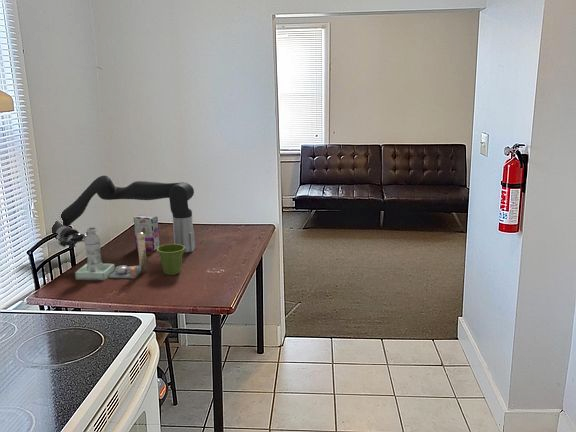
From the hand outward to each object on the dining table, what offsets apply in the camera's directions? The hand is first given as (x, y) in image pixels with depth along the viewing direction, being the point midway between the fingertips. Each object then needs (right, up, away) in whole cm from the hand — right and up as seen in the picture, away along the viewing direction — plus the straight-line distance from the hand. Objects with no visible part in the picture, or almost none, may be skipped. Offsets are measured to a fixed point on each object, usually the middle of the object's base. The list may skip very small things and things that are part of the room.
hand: (83, 242), depth 236 cm
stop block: (+22, -14, -2) cm, 26 cm away
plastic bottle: (+6, -13, -1) cm, 14 cm away
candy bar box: (+19, -5, +35) cm, 40 cm away
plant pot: (+38, -13, +1) cm, 40 cm away
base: (+18, -14, -1) cm, 23 cm away
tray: (+6, -14, -1) cm, 15 cm away
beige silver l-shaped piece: (+21, -12, 0) cm, 24 cm away
